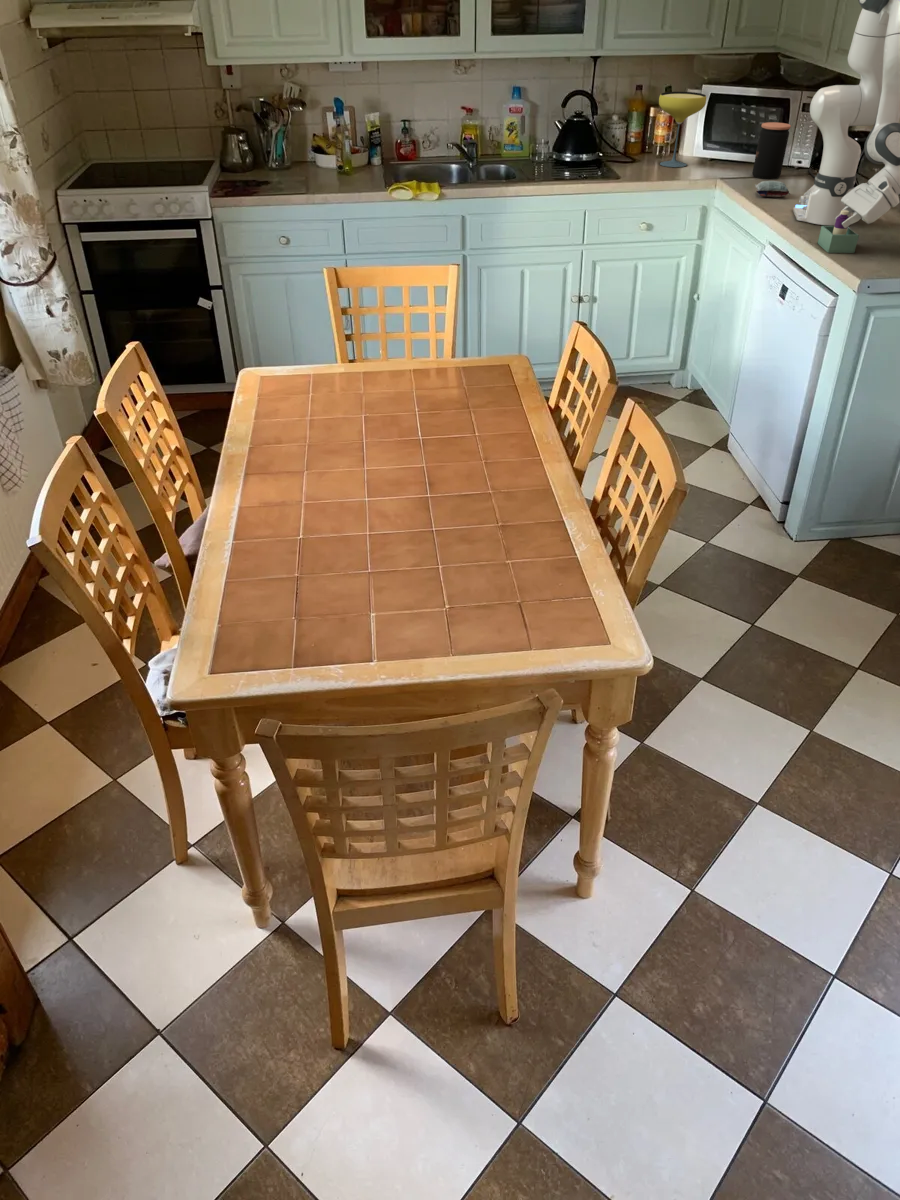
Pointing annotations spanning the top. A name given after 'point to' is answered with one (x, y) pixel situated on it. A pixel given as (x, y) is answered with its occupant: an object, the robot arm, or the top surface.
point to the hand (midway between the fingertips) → (839, 223)
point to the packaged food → (772, 189)
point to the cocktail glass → (680, 113)
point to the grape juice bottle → (838, 227)
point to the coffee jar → (771, 150)
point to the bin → (837, 240)
